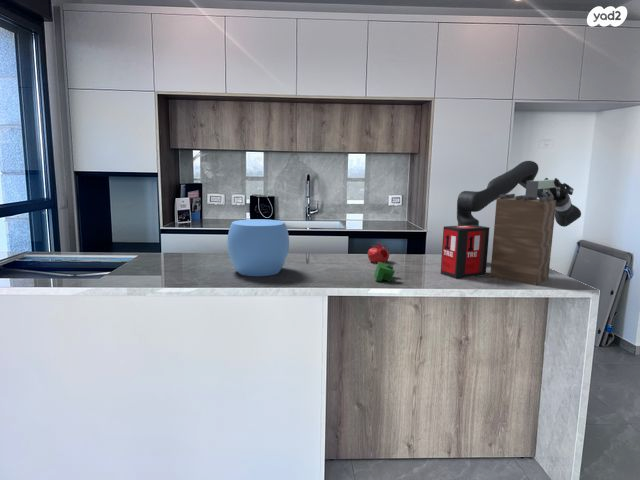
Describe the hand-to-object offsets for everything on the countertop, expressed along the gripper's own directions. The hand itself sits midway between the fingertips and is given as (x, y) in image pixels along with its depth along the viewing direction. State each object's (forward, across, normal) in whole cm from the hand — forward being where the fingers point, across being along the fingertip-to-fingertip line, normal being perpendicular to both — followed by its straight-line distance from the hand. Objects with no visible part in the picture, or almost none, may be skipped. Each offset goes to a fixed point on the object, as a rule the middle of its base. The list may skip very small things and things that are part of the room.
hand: (550, 180), depth 188 cm
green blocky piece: (+28, -41, +62) cm, 79 cm away
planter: (+52, -84, +76) cm, 125 cm away
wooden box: (-9, -5, +40) cm, 42 cm away
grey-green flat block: (+5, 0, +6) cm, 8 cm away
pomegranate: (+7, -62, +50) cm, 80 cm away
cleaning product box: (+1, -23, +46) cm, 52 cm away
